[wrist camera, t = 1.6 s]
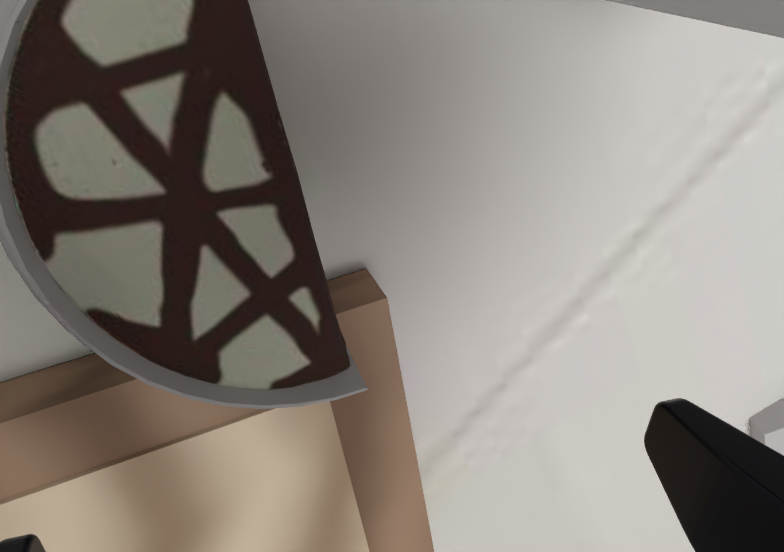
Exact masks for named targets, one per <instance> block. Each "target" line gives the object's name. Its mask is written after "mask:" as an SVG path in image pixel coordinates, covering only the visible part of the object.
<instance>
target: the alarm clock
mask: <svg viewBox="0 0 784 552" xmlns="http://www.w3.org/2000/svg"><path fill="white" fill-rule="evenodd" d="M749 420H750V433H751V437H752V438H754V439H756V440H758V441H759V442H761V443H763V444H765V445H766V446H768V447H770V448H772V449H773V450H775V451H777V452H779V453H780V454H782V455H784V400H783V399H780V400H779V401H777V402H776V403H774V404H772V405H771V406H769V407H767V408H766V409H764V410H762V411H761V412H759V413H757V414H756V415H754V416H752V417H751V418H749Z"/></svg>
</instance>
